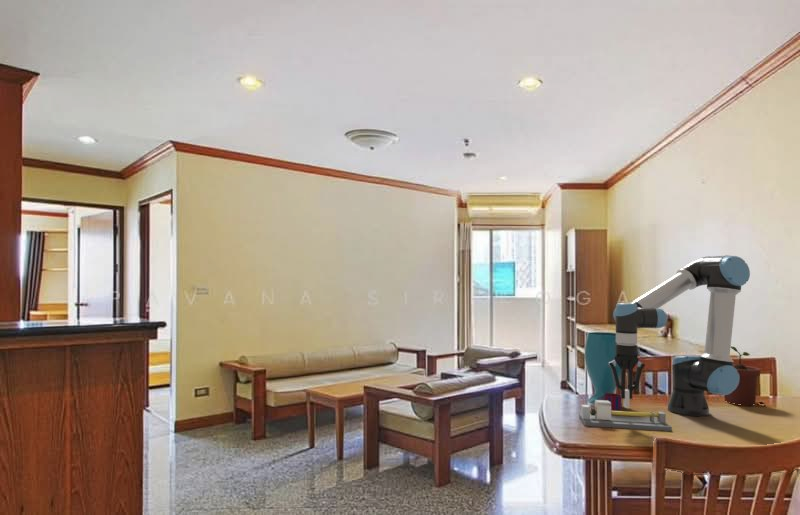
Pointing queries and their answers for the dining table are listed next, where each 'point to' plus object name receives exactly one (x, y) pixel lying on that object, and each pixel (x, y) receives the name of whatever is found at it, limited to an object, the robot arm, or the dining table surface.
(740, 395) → the potted plant
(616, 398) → the mug
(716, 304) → the robot arm
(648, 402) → the dining table surface
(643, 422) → the linear slide mechanism
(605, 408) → the sleeve
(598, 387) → the vase
